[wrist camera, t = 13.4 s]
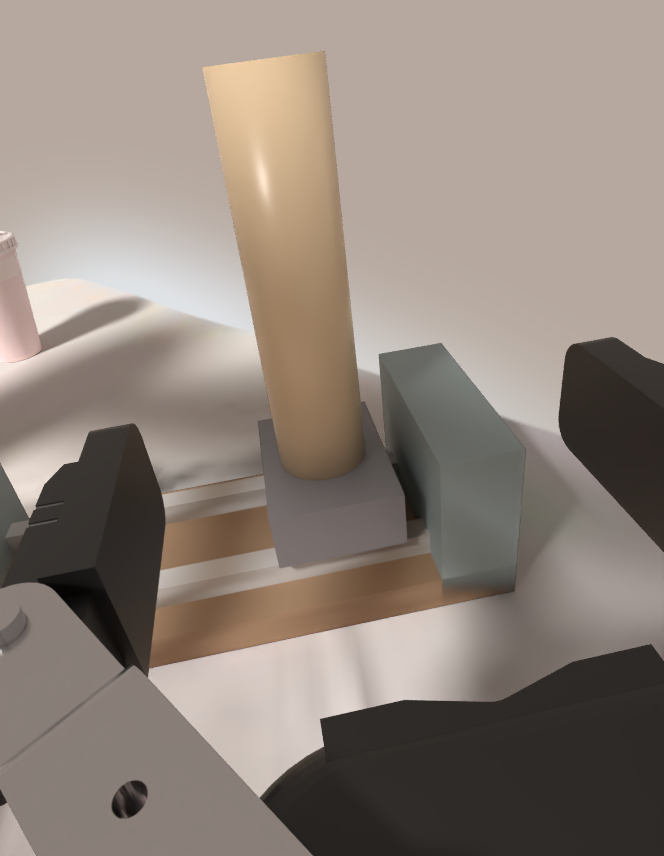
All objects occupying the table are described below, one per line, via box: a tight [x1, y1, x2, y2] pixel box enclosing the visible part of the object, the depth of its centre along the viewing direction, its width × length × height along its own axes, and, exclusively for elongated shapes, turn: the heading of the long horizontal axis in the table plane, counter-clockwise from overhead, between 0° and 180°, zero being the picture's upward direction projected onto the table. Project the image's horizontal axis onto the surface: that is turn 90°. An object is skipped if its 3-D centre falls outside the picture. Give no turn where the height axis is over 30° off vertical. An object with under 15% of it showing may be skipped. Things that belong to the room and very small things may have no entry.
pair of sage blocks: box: [0, 343, 526, 602], centre depth 25 cm, size 24×9×7 cm, turn 99°
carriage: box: [203, 51, 407, 568], centre depth 21 cm, size 5×7×16 cm
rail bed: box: [0, 451, 516, 668], centre depth 26 cm, size 24×9×2 cm, turn 99°
